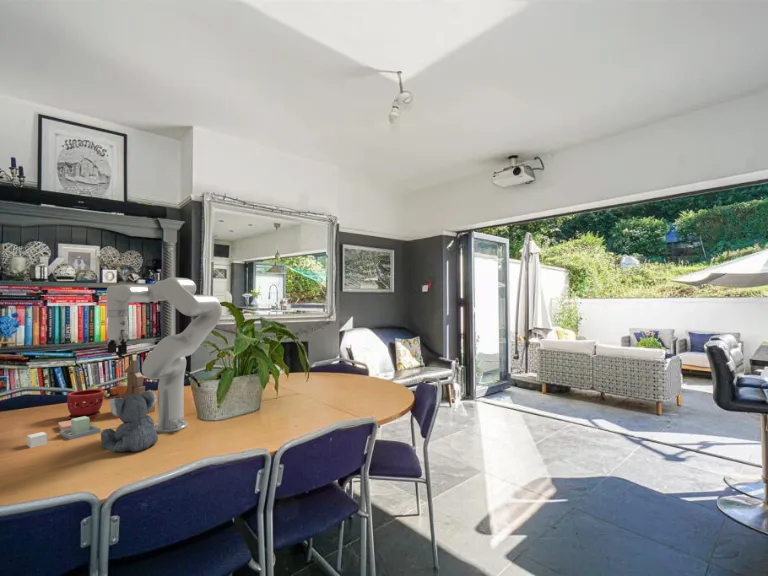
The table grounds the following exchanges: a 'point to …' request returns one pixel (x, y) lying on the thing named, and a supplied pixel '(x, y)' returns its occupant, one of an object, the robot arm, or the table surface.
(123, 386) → the toy tea set
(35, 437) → the cream cube
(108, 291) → the robot arm
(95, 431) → the grey tray
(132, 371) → the wooden toy
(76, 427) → the sage block
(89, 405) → the plant pot
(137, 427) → the koala plush
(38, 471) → the table surface
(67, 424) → the terracotta brick
